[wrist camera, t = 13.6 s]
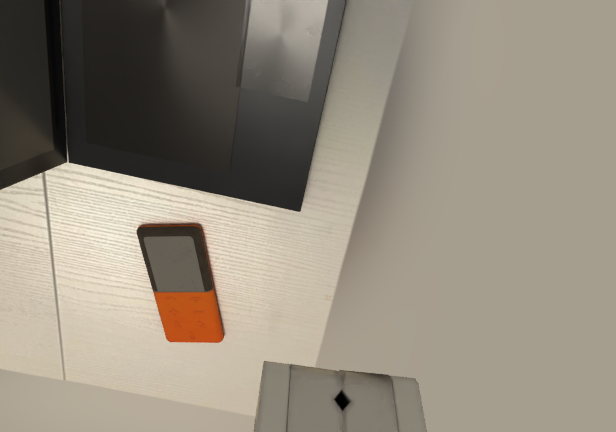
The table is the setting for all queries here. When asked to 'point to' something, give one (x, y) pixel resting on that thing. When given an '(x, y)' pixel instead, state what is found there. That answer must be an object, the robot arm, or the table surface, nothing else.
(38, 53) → the notebook screen
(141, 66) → the notebook
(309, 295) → the table surface
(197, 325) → the phone
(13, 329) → the table surface
